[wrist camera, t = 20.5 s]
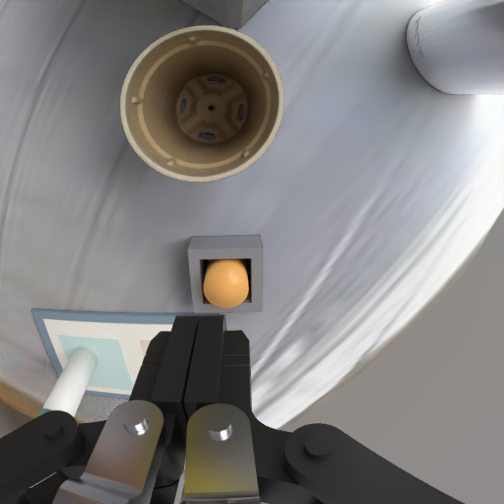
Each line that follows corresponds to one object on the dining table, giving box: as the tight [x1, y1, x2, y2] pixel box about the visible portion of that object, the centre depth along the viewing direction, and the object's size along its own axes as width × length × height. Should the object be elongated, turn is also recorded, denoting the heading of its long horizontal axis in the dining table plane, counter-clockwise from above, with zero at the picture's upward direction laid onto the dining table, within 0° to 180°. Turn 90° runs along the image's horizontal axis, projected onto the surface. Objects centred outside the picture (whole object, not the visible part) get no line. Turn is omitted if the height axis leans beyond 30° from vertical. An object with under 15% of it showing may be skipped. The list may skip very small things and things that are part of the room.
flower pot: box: [120, 25, 284, 182], centre depth 20 cm, size 9×9×9 cm
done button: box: [203, 258, 249, 308], centre depth 27 cm, size 4×4×4 cm
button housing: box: [187, 235, 263, 313], centre depth 28 cm, size 6×6×3 cm
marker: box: [37, 347, 98, 417], centre depth 27 cm, size 3×3×12 cm
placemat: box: [32, 308, 219, 399], centre depth 33 cm, size 22×13×1 cm, turn 90°
